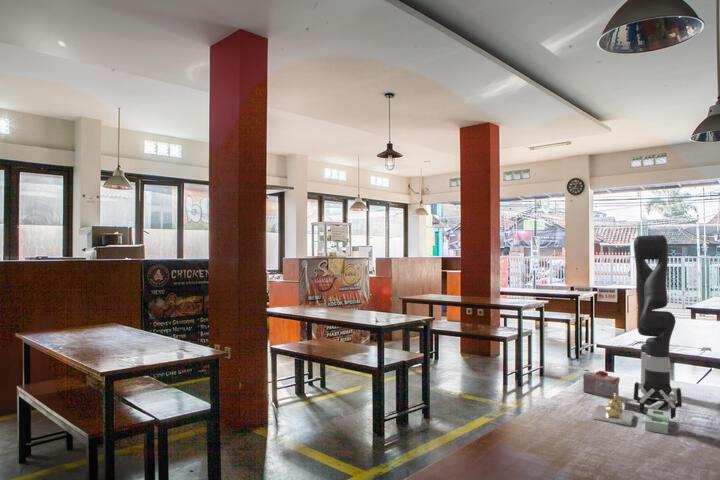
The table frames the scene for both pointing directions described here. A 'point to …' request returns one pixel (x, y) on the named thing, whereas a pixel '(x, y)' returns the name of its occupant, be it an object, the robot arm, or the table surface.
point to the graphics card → (648, 404)
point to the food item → (600, 384)
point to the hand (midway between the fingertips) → (657, 415)
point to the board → (657, 421)
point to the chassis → (614, 413)
